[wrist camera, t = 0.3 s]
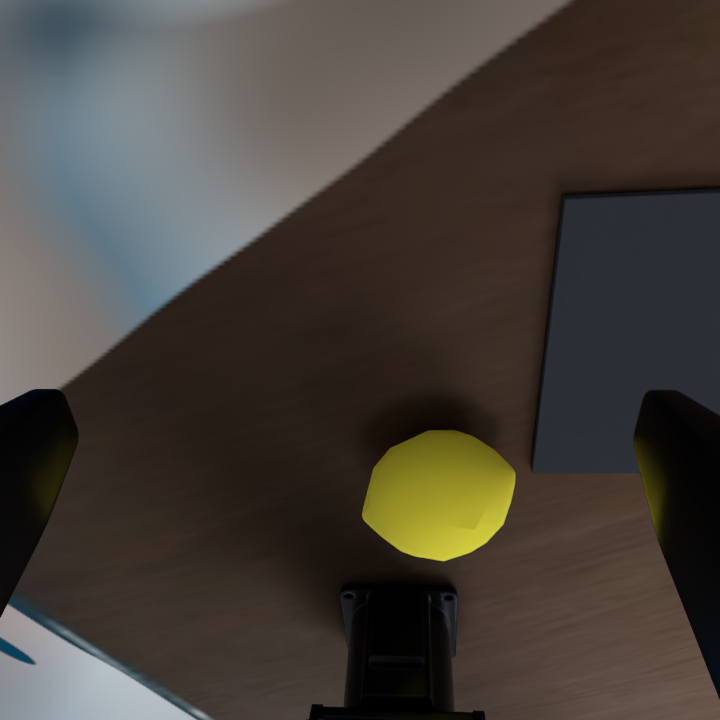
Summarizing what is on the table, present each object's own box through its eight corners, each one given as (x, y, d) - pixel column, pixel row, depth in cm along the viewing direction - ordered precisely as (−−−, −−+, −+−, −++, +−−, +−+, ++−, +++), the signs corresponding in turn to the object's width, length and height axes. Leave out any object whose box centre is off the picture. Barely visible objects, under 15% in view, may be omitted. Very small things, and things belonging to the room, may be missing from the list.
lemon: (486, 384, 26) (502, 475, 21) (524, 470, 28) (546, 566, 24) (341, 432, 28) (328, 524, 23) (389, 508, 30) (385, 603, 26)
